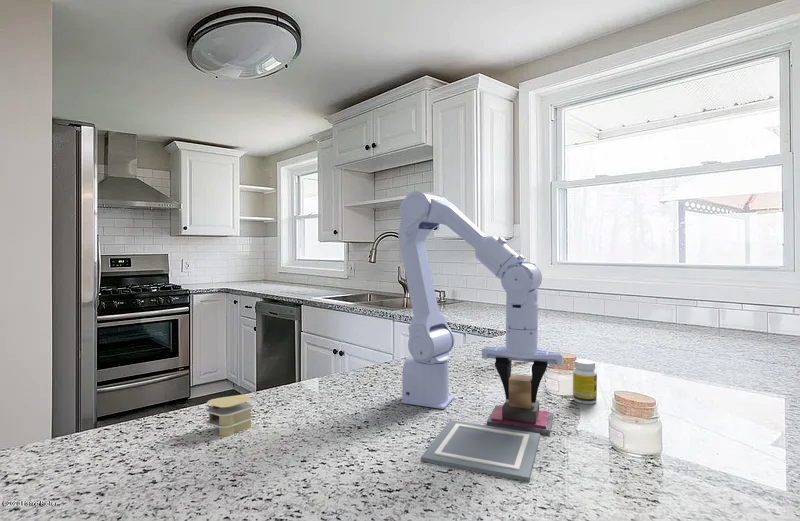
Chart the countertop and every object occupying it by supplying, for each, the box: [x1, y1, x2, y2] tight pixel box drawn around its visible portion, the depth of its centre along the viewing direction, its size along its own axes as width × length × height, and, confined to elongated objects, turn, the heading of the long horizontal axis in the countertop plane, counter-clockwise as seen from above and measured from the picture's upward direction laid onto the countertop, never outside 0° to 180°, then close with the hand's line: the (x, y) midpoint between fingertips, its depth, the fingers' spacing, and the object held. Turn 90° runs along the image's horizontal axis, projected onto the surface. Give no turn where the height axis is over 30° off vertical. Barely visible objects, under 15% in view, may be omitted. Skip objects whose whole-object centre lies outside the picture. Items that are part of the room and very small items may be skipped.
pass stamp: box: [502, 373, 540, 423], centre depth 84 cm, size 6×6×7 cm
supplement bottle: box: [572, 358, 598, 405], centre depth 95 cm, size 5×5×8 cm
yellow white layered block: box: [206, 394, 254, 437], centre depth 80 cm, size 10×9×6 cm
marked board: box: [420, 419, 541, 483], centre depth 73 cm, size 16×16×1 cm
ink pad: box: [486, 404, 554, 436], centre depth 84 cm, size 11×9×1 cm
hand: (521, 399), depth 84 cm, fingers closed on pass stamp, 4 cm apart
